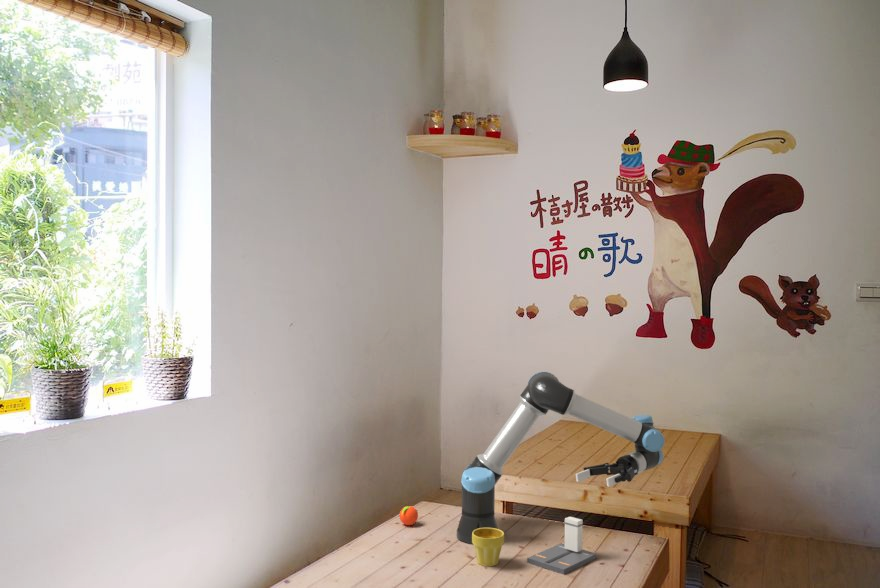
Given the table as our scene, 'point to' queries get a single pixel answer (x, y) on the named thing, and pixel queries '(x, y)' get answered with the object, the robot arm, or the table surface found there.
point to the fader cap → (573, 534)
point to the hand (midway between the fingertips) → (591, 480)
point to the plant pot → (487, 545)
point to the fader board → (561, 559)
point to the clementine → (408, 515)
